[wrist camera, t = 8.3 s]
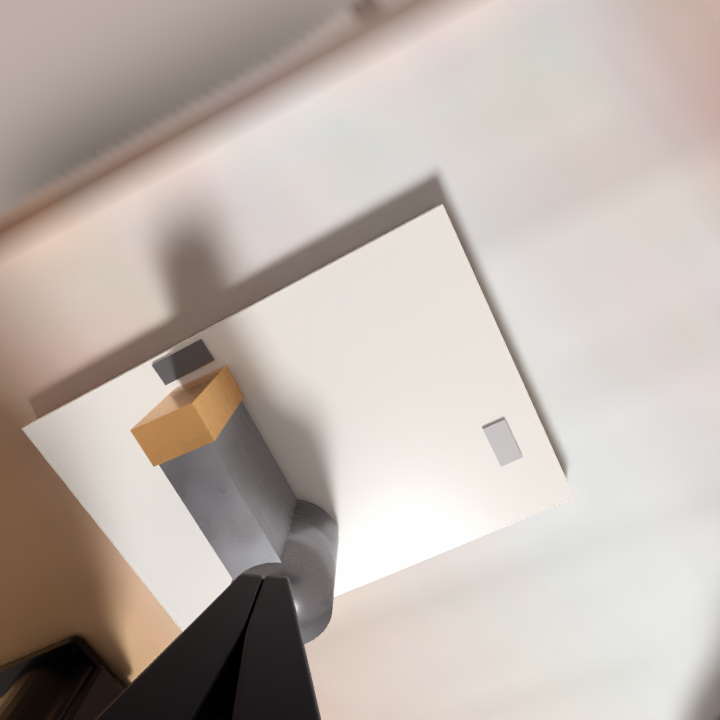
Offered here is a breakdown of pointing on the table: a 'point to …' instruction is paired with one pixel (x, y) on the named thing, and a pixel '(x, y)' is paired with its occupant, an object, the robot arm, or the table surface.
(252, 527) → the lock lever
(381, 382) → the base
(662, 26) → the table surface
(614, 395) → the table surface
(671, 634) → the table surface
